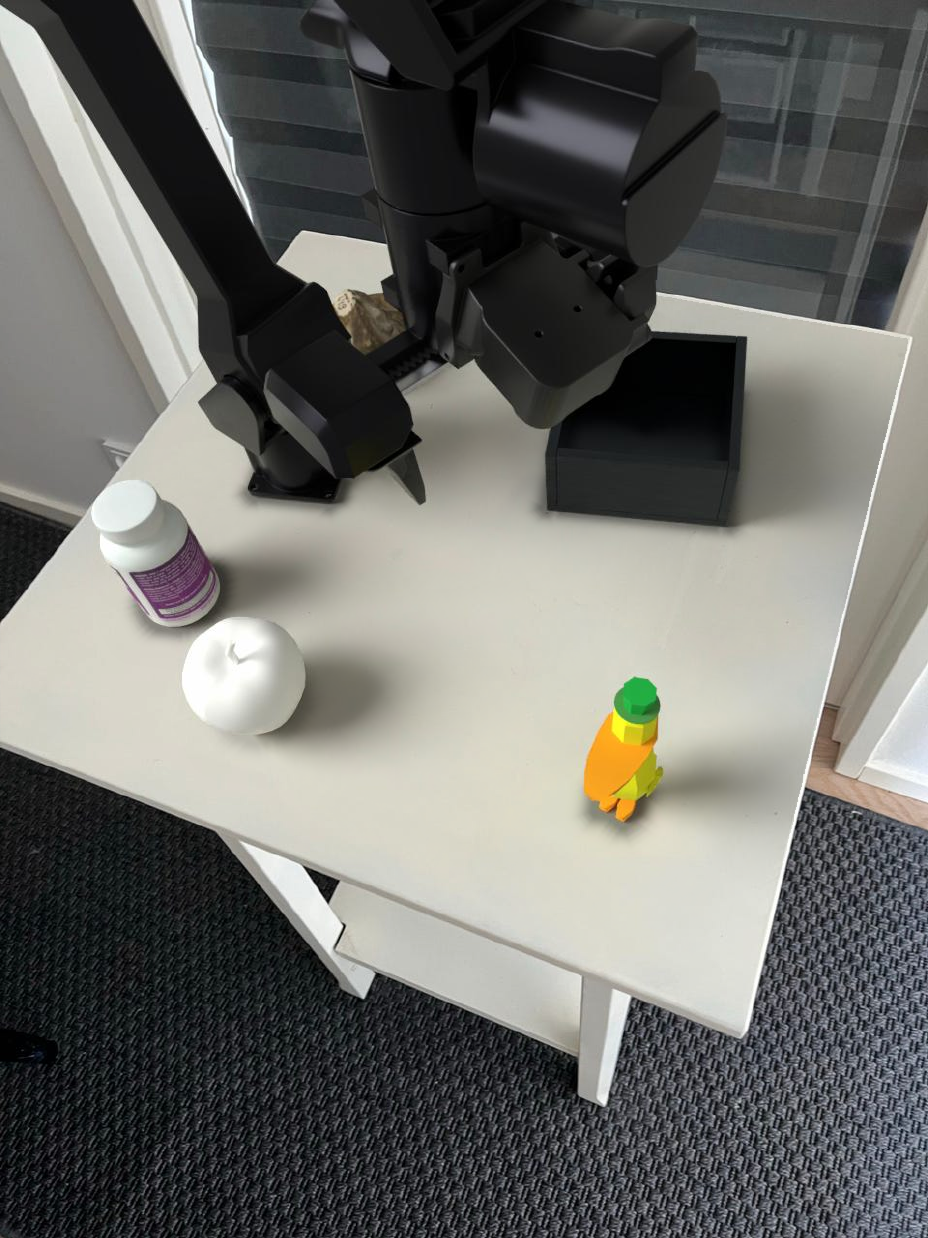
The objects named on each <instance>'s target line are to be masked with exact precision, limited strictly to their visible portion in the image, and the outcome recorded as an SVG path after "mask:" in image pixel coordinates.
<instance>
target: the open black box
mask: <svg viewBox="0 0 928 1238" xmlns="http://www.w3.org/2000/svg"><path fill="white" fill-rule="evenodd" d="M651 331H652V338H651V340H650V341H648V342H647V343H645V344H644V345H642V346H641V347H639V348H638V349H637V350H635V351H634V352H632V353H631V354H629V355H628V356H626V357H625V358H624V359H623V361H622V363H621V366H620V368H619V370H618V372H617V374H616V377H615V379H614V381H613V383H612V385H611V386H610V387H609V388H608V389H607V390H606V391H605V392H603V393H602V394H600V395H596V396H595V397H593V398H592V399H590V400H589V401H587V402H586V403H585V404H583V405H582V406H580V407H579V408H577V409H576V410H574V411H573V412H571V413H570V414H569V415H567V416H566V417H565V418H564V419H563V420H562V421H561V422H559V423H558V424H556V425H555V426H553V427H551V428H549V432H548V437H547V443H546V448H545V452H544V464H545V491H546V492H545V495H546V497H545V498H546V510H547V511H553V512H562V513H574V514H582V515H583V514H584V515H596V516H605V517H615V518H629V519H636V520H648V521H658V522H668V523H669V522H670V523H680V524H691V525H702V526H710V527H711V526H714V527H723V528H727V526H728V524H729V519H730V515H731V511H732V506H733V501H734V498H735V492H736V489H737V485H738V481H739V476H740V471H741V458H742V439H743V423H744V420H743V419H744V405H745V388H746V370H747V368H746V367H747V351H748V336H747V335H729V334H728V335H727V334H714V333H713V334H711V333H696V332H695V333H694V332H676V331H661V330H660V331H659V330H651Z"/></svg>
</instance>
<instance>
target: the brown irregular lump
mask: <svg viewBox="0 0 928 1238" xmlns="http://www.w3.org/2000/svg"><path fill="white" fill-rule="evenodd" d="M332 305H333V307H334V309H335V312H336V314H337V315H338V317H339V319H340V321H341V322H342V323H343V325H344V326H345V328H346V329H347V331H348V332H349V333H350V335H351V337H352V338H351V344H352V345H353V346H354V347H356V348H357V349H358V350H359V351H360V352H361V353H363V354H364V355H366V354H368V353H369V352H371V351H373V350H374V349H376V348H377V347H379V346H381V345H382V344H384V343H386V342H387V341H389V340H390V339H392V338H394V337H395V336H397V335H399V334H400V333H402V332H403V331H405V330H406V328H405V326H404V322H403V318H402V313H401V312H399V311H398V310H397V309H395V308H394V307H393V306H392V305H390V304H389V303H388V302H386V301H385V299H384V295H383V292H375V293H371V294H367V293H366V292H363V291H360V290H357V289H350V288H346V289H344V290H343V291H342V292H341V293H339V294H338V295H337V297H336V298H335V300H334V302H333V303H332Z"/></svg>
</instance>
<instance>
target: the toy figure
mask: <svg viewBox="0 0 928 1238" xmlns="http://www.w3.org/2000/svg"><path fill="white" fill-rule="evenodd" d="M657 693H658V688H657V686H656V685H655V684H654V683H653V682H652V681H651V680H650V679H649V678H643V677H637V676H634V677H632V678H630V679H629V680H627V681H626V682H624V683H623V686H622V687H621V688H619V690H617V692H616V693H615V695H614V698H613V711H612V712H610V713H608V714H607V716H606V718H605V719H604V721H603V723H602V724H601V726H600V727H599V730H598V731H597V733H596V735H595V737H594V740H593V742H592V744H591V746H590V748H589V751H588V754H587V755H586V761H585V766H584V771H583V794H584V795H585V796H586V797H587V798H588V799H589V800H590V801H591V802H599V804H598V809H600V810H601V811H603V812H605V813H608V812H609V811H611V810H612V809H613V808H615V807H616V813H615V819H616V820H617V821H620V822H622V823H625V822H626V821H627V820H628V819H629V818H630V817H631V816H632V815H633V813H634V812H635V808H636V806H637V805H636V804H637V800H639V799H641V798H642V797H643V796H644V795H645V794H646V797H649V796H650V795H651V794H652V793H653V792H654V790H655V789H656V788H657V786H658V785H659V783H660V781H661V780H662V779H663V777H664V767H663V766H662V765H660V766H658V767H657V759H658V755H657V754H656V753H655V752H654V746H655V745H656V743H657V742H658V739H659V714H660V711H661V707H662V705H661V700H660V697H659V696H658V694H657Z"/></svg>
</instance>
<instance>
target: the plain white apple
mask: <svg viewBox="0 0 928 1238" xmlns="http://www.w3.org/2000/svg"><path fill="white" fill-rule="evenodd" d="M181 674H182V676H181V677H182V678H181V680H182V681H181V686H182V689H183V693H184V696H185V699H186V701H187V703H188V704H189V707H190V708H191V710H192V711H193V713H194V714H196V716H197V717H198V718H199V719H200V720H201V721H203V722H204V723H206V724H208V725H209V726H211V727H212V728H215V729H217V730H220V731H223V732H225V733H229V734H234V735H242V736H243V735H245V736H255V735H256V736H257V735H262V734H266V733H270V732H274V731H276V730H277V729H279V728H281V727H282V726H283V725H285V724H286V723H287V722H288V720H289V719H290V718H291V717H292V716H293V714H294V712H295V711H296V709H297V707H298V705H299V703H300V701H301V698H302V696H303V693H304V690H305V687H306V667H305V661H304V657H303V654H302V651H301V649H300V647H299V645H298V644H297V642H296V639H294V637H293V636H292V635H291V634H290V633H289V632H288V631H287V630H286V629H285V628H284V627H283V626H281V625H280V624H278V623H277V622H275V621H272V620H269V619H265V618H261V617H254V616H253V617H252V616H233V617H227V618H224V619H222V620H220V621H217V622H216V623H215V624H213V625H212V626H211V627H210V628H208V629H207V630H205V631H204V632H202V633H201V634H200V635H199V636H198V637H197V638H196V639H195V640H194V641H193V643H192V645H191V646H190V649H189V650H188V653H187V656H186V658H185V662H184V665H183V669H182V673H181Z"/></svg>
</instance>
